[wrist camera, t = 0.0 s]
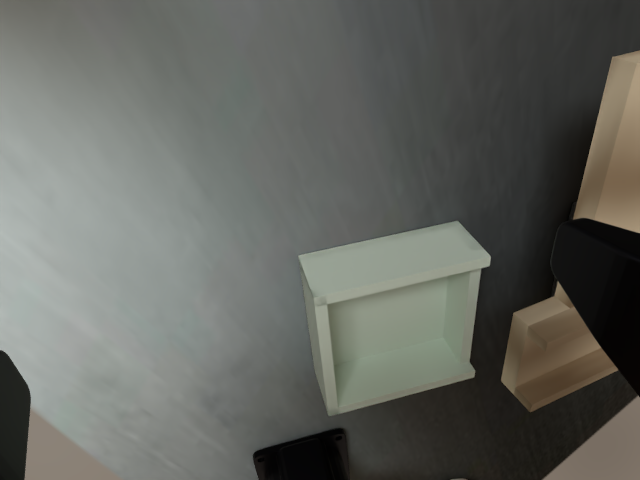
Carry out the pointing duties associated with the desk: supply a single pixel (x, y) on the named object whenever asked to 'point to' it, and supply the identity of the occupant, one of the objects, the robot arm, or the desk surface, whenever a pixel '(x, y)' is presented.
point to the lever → (593, 202)
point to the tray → (392, 314)
